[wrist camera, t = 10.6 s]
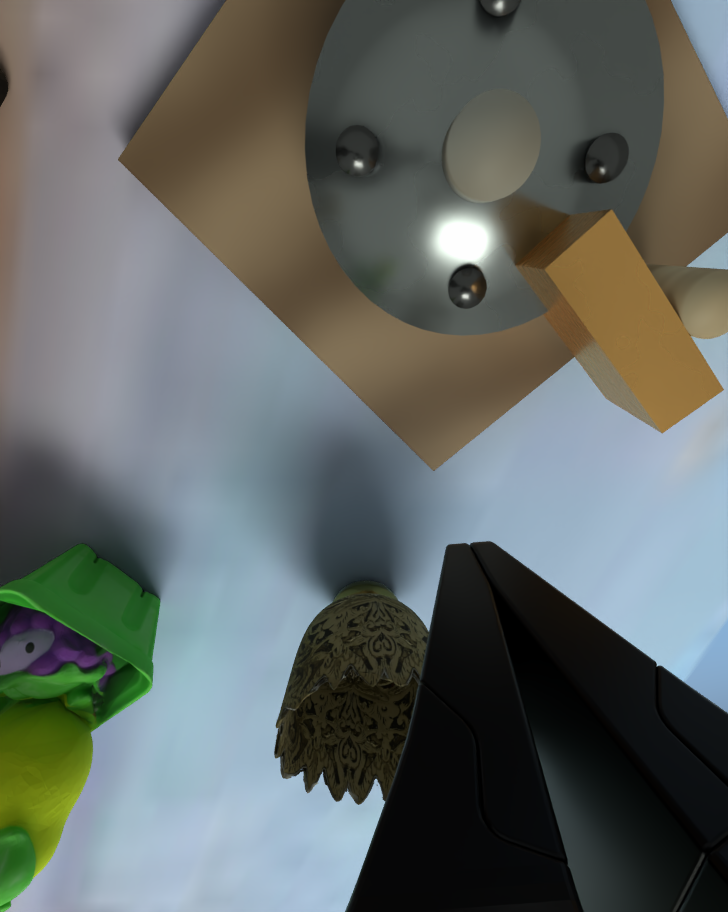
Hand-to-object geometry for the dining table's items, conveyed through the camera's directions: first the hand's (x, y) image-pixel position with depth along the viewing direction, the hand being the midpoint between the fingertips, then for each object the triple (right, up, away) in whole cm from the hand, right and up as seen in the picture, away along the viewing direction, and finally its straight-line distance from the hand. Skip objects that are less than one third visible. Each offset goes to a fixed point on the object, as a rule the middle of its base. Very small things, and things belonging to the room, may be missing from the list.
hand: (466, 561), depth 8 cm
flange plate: (+3, +9, +6) cm, 11 cm away
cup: (-2, -6, +16) cm, 17 cm away
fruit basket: (-17, -7, +16) cm, 25 cm away
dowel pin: (+8, +9, +9) cm, 15 cm away
